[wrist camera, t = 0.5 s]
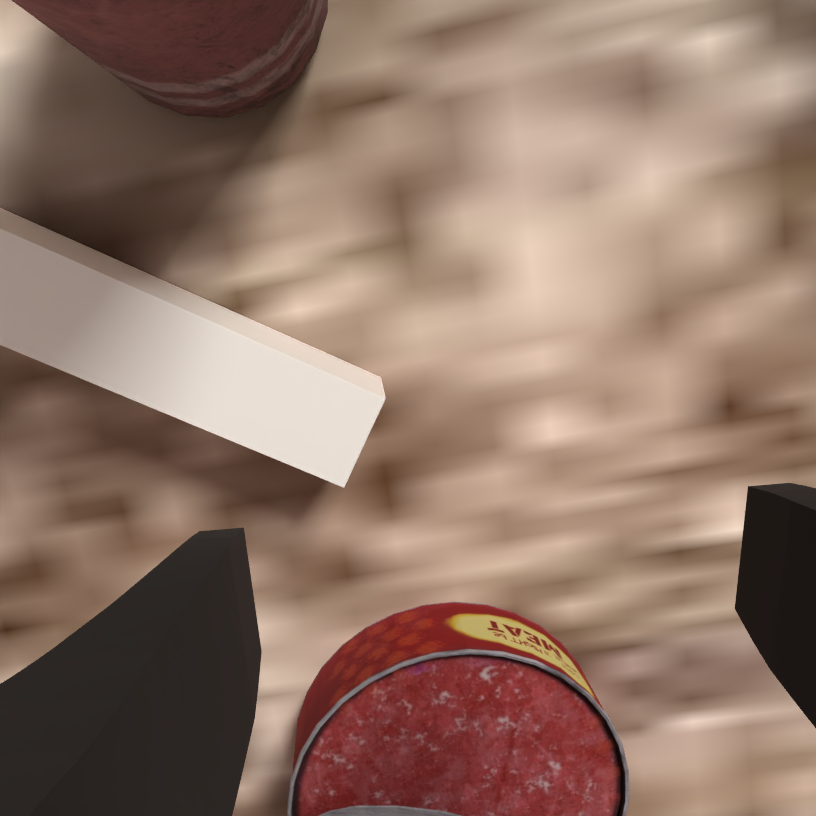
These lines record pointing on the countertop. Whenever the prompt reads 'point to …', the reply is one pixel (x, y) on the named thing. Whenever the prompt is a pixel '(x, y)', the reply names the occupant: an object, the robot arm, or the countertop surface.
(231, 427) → the notched board
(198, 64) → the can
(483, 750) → the canned food
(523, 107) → the countertop surface
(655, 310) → the countertop surface
